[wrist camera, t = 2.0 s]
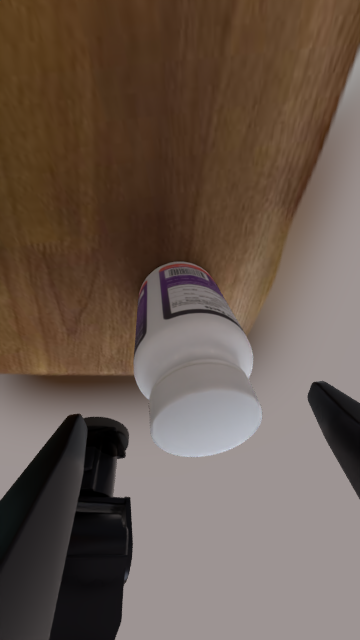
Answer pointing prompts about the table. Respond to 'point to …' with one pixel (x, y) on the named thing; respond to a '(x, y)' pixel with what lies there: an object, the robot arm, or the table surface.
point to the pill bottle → (193, 364)
